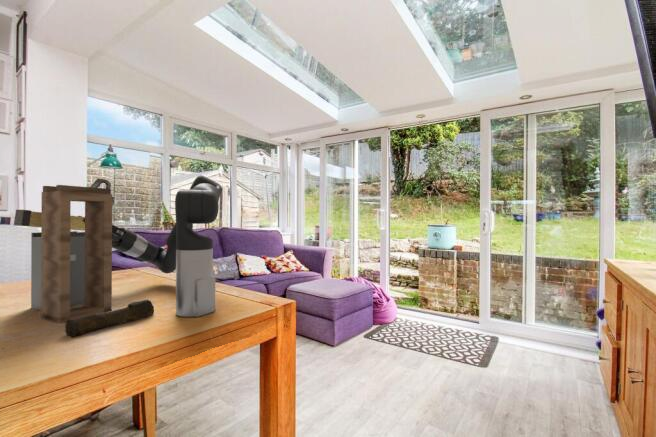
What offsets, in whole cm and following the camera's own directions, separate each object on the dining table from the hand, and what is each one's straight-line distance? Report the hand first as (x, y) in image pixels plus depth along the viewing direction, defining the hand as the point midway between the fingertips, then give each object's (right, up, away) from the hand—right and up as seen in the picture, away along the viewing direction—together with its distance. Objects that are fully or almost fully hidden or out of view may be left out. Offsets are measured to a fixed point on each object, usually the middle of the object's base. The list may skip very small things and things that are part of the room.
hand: (81, 218), depth 99 cm
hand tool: (+24, -26, -21) cm, 41 cm away
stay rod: (-2, -3, -3) cm, 5 cm away
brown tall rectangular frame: (+9, -25, -13) cm, 30 cm away
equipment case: (-2, -25, -5) cm, 26 cm away
